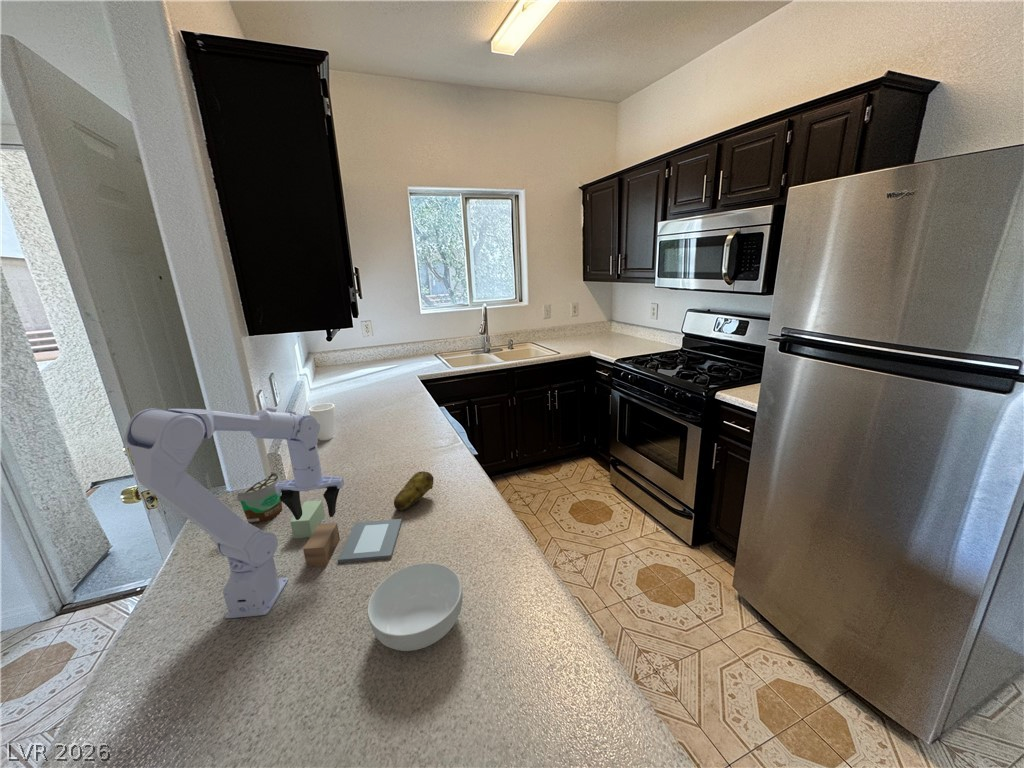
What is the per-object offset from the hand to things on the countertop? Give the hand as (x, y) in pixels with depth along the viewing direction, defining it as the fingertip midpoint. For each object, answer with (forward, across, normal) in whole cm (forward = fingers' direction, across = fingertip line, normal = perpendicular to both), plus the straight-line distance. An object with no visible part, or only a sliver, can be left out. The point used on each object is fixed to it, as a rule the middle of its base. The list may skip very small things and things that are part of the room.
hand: (316, 516), depth 94 cm
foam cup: (+8, +22, -70) cm, 74 cm away
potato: (+9, -20, -16) cm, 27 cm away
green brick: (+9, +6, -9) cm, 14 cm away
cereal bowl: (+9, -26, +26) cm, 38 cm away
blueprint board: (+8, -12, -1) cm, 15 cm away
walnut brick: (+9, -1, +2) cm, 9 cm away
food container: (+9, +19, -16) cm, 26 cm away
